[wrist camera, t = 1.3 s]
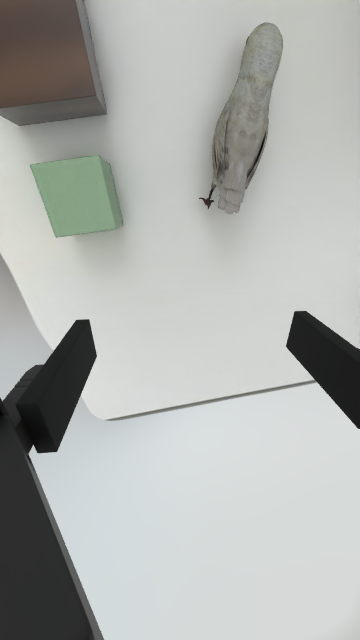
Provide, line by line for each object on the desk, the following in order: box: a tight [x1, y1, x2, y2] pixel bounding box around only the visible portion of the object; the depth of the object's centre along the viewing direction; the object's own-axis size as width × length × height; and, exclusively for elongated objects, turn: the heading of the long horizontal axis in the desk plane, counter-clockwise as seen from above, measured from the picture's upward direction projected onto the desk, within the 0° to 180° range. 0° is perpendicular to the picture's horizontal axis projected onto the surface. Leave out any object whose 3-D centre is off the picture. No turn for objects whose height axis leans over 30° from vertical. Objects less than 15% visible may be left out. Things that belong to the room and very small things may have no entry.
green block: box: [30, 155, 123, 237], centre depth 27 cm, size 7×7×6 cm
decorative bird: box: [199, 23, 283, 214], centre depth 24 cm, size 5×16×8 cm, turn 168°
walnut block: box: [0, 0, 107, 126], centre depth 21 cm, size 10×10×5 cm
